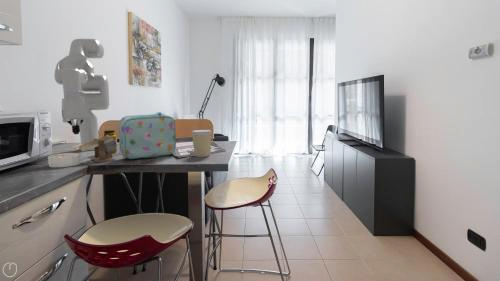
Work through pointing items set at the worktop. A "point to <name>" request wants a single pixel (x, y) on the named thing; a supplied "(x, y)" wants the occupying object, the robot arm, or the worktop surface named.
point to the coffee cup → (202, 142)
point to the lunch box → (147, 136)
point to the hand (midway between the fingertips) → (76, 133)
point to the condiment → (112, 133)
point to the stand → (101, 153)
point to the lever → (107, 141)
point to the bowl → (64, 160)
